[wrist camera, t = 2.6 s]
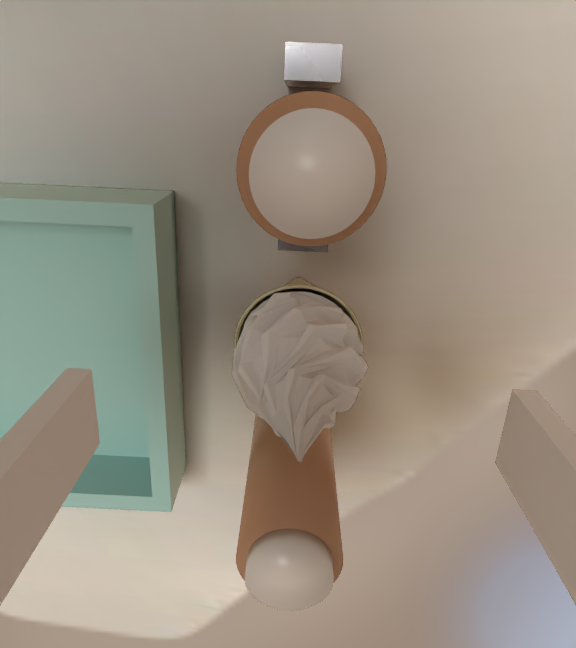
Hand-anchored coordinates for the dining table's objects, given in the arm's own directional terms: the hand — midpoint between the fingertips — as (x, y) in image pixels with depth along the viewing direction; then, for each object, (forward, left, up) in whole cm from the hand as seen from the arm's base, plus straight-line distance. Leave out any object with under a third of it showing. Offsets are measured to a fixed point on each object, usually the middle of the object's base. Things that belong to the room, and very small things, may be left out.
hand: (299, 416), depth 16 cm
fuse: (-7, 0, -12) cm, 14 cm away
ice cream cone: (0, 0, -13) cm, 13 cm away
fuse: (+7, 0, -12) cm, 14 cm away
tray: (+4, -15, -12) cm, 20 cm away
